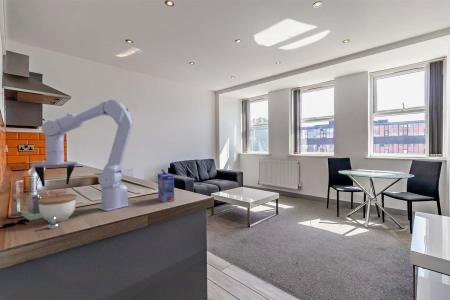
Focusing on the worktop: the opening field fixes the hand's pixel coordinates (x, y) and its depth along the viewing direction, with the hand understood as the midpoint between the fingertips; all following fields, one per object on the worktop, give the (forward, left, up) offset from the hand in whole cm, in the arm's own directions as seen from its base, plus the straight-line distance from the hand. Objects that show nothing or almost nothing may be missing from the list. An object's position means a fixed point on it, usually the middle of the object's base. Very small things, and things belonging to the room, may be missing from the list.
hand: (55, 185), depth 89 cm
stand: (+7, +3, -10) cm, 12 cm away
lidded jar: (+4, +15, -10) cm, 18 cm away
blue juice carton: (-36, +24, -10) cm, 44 cm away
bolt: (+8, +22, -10) cm, 25 cm away
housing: (+7, +3, -8) cm, 11 cm away
